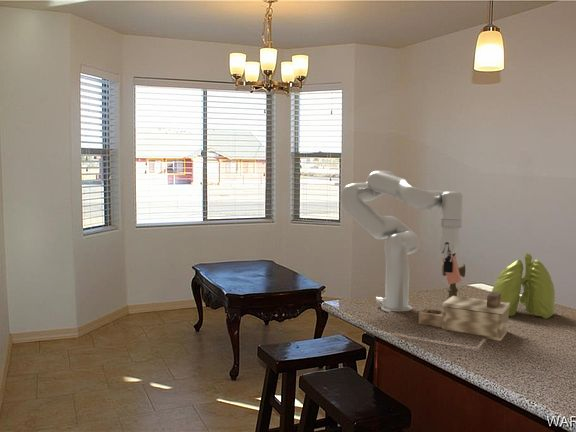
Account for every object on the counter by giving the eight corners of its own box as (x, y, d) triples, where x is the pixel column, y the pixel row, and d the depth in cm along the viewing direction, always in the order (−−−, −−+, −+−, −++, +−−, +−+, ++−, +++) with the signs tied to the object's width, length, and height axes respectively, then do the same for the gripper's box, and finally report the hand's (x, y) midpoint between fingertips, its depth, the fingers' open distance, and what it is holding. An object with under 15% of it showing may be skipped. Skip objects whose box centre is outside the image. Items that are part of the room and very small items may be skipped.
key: (448, 284, 220) (442, 258, 220) (451, 282, 223) (445, 257, 224) (458, 282, 218) (452, 256, 218) (461, 280, 221) (455, 255, 222)
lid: (442, 306, 205) (442, 291, 205) (452, 298, 217) (453, 285, 216) (502, 314, 195) (502, 299, 194) (509, 306, 206) (510, 292, 206)
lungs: (548, 309, 239) (551, 252, 237) (558, 319, 224) (562, 258, 222) (485, 306, 244) (488, 250, 242) (491, 316, 229) (494, 256, 227)
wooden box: (416, 327, 211) (417, 303, 210) (427, 319, 222) (428, 296, 222) (500, 340, 196) (501, 315, 195) (507, 331, 207) (508, 307, 206)
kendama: (464, 302, 250) (466, 257, 248) (442, 301, 251) (443, 256, 250) (462, 299, 256) (464, 255, 254) (440, 298, 257) (441, 254, 255)
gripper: (447, 221, 228) (446, 267, 230) (434, 225, 214) (433, 273, 216) (466, 222, 225) (465, 268, 226) (455, 226, 210) (453, 275, 212)
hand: (449, 270), depth 221 cm, fingers closed on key, 4 cm apart
